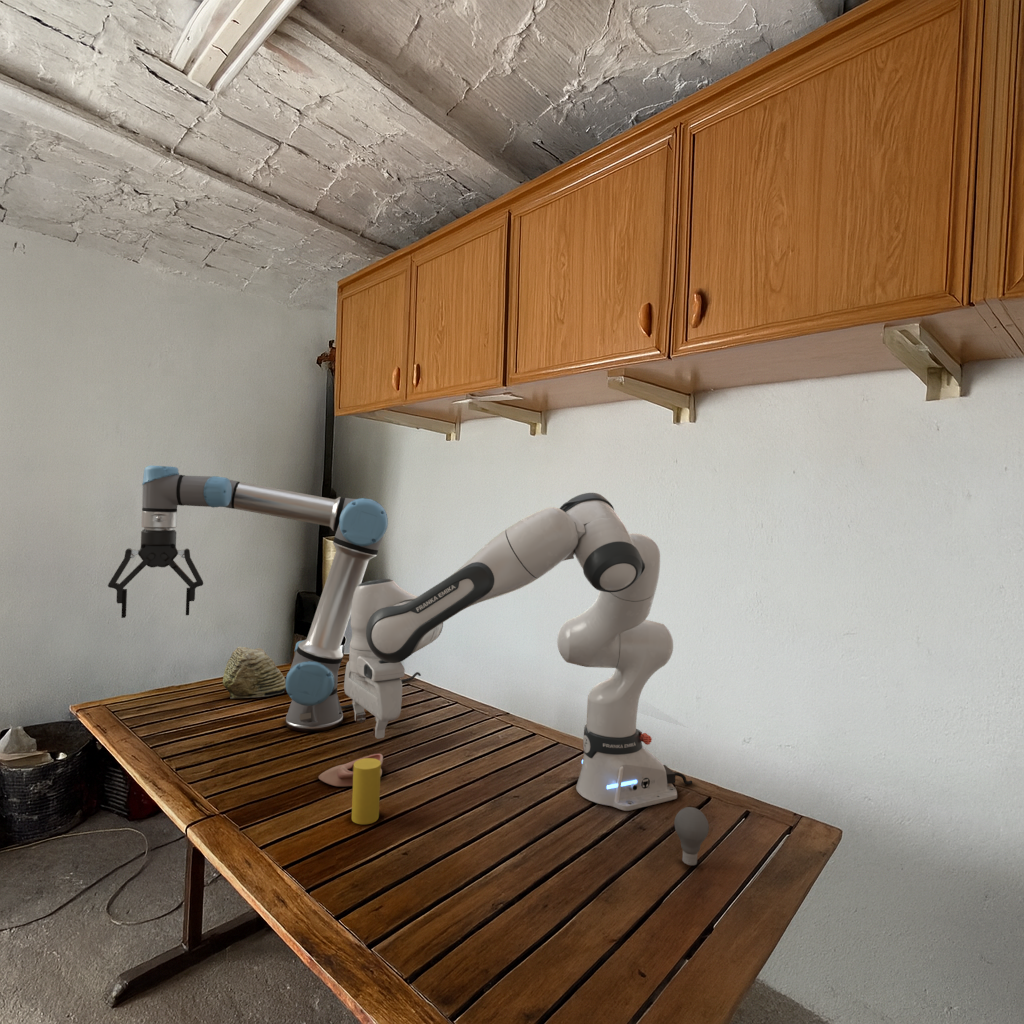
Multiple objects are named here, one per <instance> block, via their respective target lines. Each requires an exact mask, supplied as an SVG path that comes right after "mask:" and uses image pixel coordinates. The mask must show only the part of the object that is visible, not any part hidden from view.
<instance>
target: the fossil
mask: <svg viewBox="0 0 1024 1024" xmlns="http://www.w3.org/2000/svg"><path fill="white" fill-rule="evenodd" d="M222 676H223V677H222V685H223V687H224V688H225V690H226V691H228V693H229V698H230V699H250V698H264V697H271V696H275V695H281V694H284V693H285V691H286V682H285V680H286V676H284V674H283V673H282V672H281V669H279V668H278V667H277V665H276V663H275V662H274V660H273V659H272V658H271V657H270V656H269V655H268V654H267V653H266V652H265V650H264V649H263V648H260V647H258V648H251V647H247V646H246V647H245V646H238V647H237V648H236V649H235V650H233V651H232V653H231V656H230V657H229V659H228V660H227V663H226V666H225V668H224V671H223V675H222Z"/></svg>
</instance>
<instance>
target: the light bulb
mask: <svg viewBox="0 0 1024 1024" xmlns="http://www.w3.org/2000/svg"><path fill="white" fill-rule="evenodd" d="M673 825H674V830H675V832H676V834H677V836H678V838H679V840H680V846H681V849H682V858H681V860H682V862H683V863H684V864H686V865H688V866H696V865H697V864H698V854H699V852H700V849H701V846H702V844H703V842H704V841H705V840H706V838H707V836H708V834H709V830H710V824H709V821H708V819H707V817H706V815H705V814H704V812H702V811H701V810H700V809H698V808H697V807H692V806H685V807H683V808H681V809H680V810H679V811H678V812H677V813H676V815H675V818H674V822H673Z"/></svg>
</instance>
